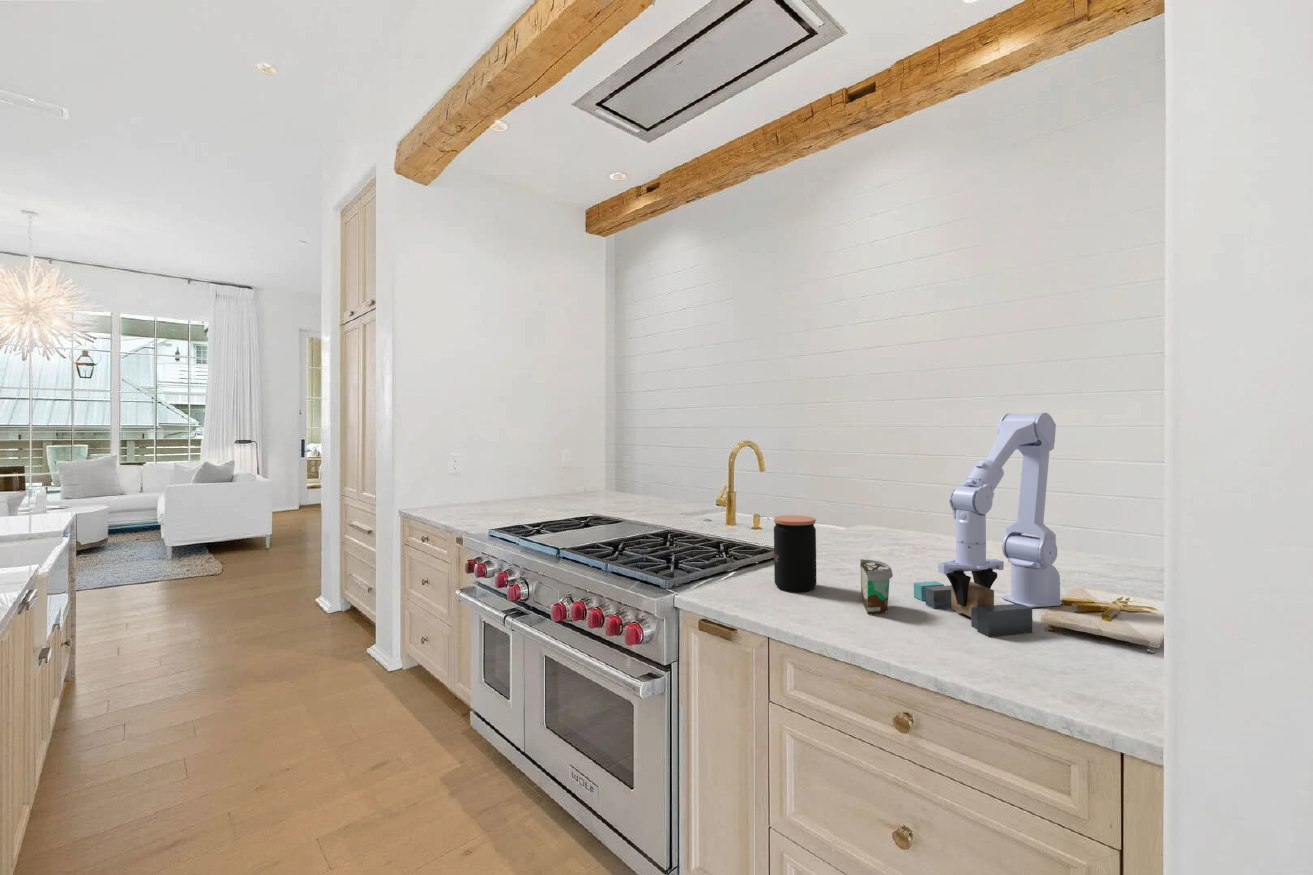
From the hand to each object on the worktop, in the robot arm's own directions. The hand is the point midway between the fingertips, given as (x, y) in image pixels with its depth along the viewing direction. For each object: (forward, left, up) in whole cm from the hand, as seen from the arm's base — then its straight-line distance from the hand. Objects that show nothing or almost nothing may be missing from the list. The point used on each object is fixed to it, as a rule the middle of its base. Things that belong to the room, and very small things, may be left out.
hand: (971, 604), depth 127 cm
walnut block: (0, 0, -2) cm, 2 cm away
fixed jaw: (0, +8, -3) cm, 8 cm away
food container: (+16, -10, -3) cm, 19 cm away
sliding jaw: (0, -12, -3) cm, 12 cm away
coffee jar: (+27, -31, -3) cm, 41 cm away
